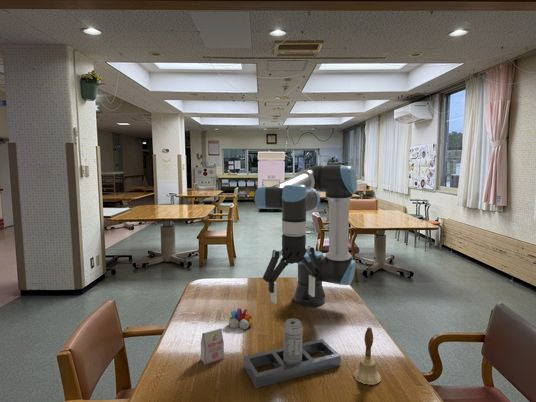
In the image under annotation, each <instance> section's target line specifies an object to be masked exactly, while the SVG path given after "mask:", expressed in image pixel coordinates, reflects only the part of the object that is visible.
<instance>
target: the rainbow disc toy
mask: <svg viewBox="0 0 536 402" xmlns="http://www.w3.org/2000/svg"><path fill="white" fill-rule="evenodd" d="M247 312H248V309H247V308H244V310H242V308H241V307H238V308H237V310H231V313H230V314H231V316H230V317H229V320H228V321H229V322H228V323H229V324H228V325H229V326H230V328H231V329H237V328H238V327H239V328H240V329H241V330H247V329H248V328H249V327H250V326H252V324H253V323H254V322H253V314H252V313H247Z"/></svg>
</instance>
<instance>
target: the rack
mask: <svg viewBox="0 0 536 402" xmlns="http://www.w3.org/2000/svg"><path fill="white" fill-rule="evenodd" d="M320 352H321V353H322V354H323V355H324V356H320V357H317V358H313V357H312V356H311V355H312V354H315V353H320ZM283 356H284V347H280V348H275V349H271V350H267V351H263V352H259V353H253V354H250V355H245V356H243V361H242V362H243V369H244V370H245V371H246V374H247V376H248V377H249V378H250V381H251V382H252V384H253V385H254V387H255V388H256V389H259V388H263V387H267V386H271V385H273V384H277V383H281V382H285V381H288V380H291V379H296V378H299V377H303V376H307V375H311V374H314V373H318V372H322V371H326V370H329V369H333V367H334V368H337V366H338V367H341V359H342V358H341V354H340V353H338V352H337V351H336V350H335V349H334V348H333V347H332V346H330V344H329V343H327V342H326V341H325V340H324V339H323V338H320V339H316V340H315V339H314V340H311V341H307V342H302V362H299V363H295V364H291V365H287V366H286V364H285V363H284V362H283ZM271 364H272V366H273V367H274V368H272V369H268V370H264V371H260V372H258V370H257V369H256V368H258V367H262V366H267V365H271ZM325 369H326V370H325Z"/></svg>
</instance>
